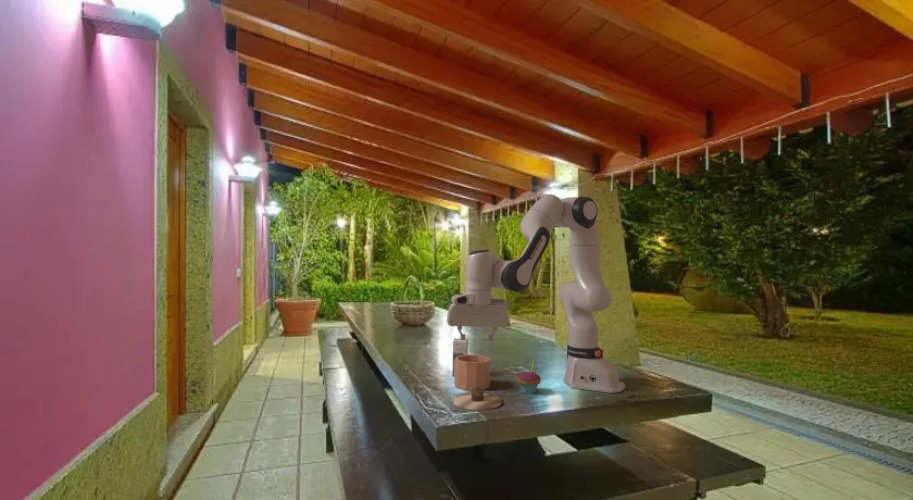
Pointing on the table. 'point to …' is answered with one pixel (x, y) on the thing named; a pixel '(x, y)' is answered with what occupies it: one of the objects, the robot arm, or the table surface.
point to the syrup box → (459, 350)
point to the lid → (477, 400)
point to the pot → (472, 372)
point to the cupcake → (528, 381)
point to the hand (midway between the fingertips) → (476, 339)
